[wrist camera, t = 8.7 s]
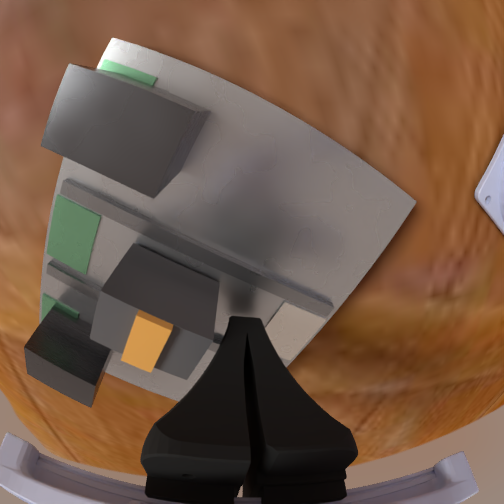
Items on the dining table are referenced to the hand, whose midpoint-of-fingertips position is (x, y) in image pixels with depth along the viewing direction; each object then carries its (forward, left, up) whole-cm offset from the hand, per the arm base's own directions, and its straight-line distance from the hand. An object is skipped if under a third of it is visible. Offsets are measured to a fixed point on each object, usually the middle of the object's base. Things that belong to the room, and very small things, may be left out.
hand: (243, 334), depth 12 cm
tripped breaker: (+4, 0, -1) cm, 4 cm away
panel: (+3, 0, -3) cm, 4 cm away
